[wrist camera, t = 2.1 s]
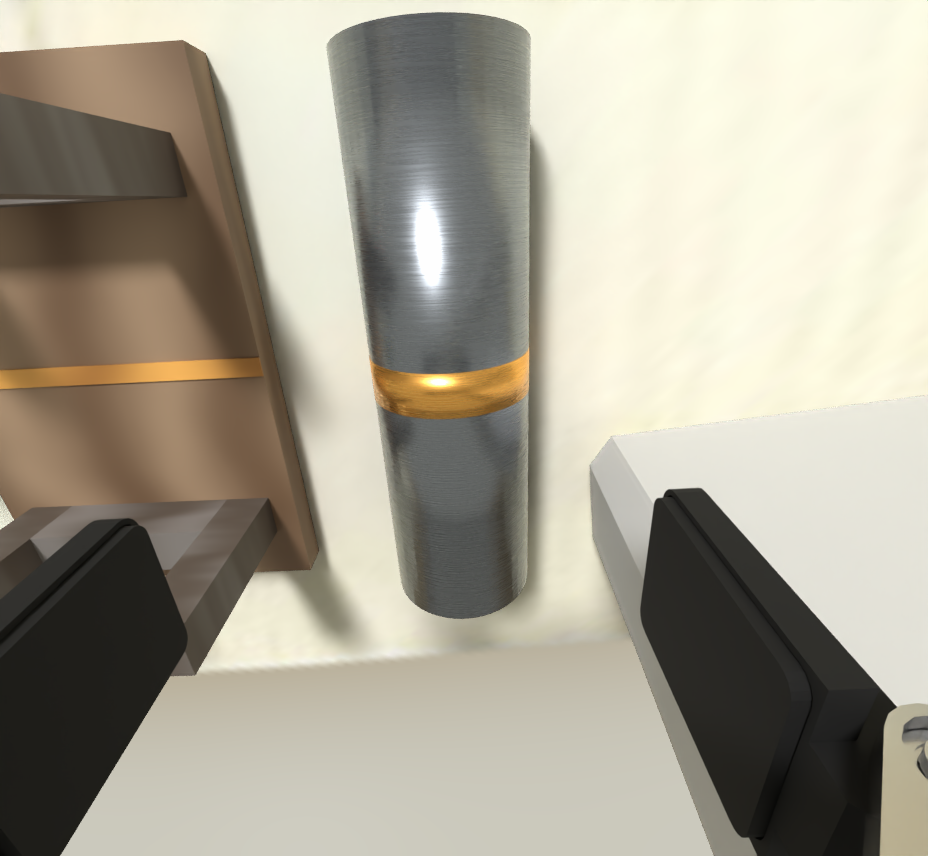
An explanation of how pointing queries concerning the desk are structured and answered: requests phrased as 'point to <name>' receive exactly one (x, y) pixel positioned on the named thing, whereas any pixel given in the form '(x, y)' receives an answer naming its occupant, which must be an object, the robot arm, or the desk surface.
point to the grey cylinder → (444, 289)
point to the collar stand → (137, 331)
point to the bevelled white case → (788, 539)
